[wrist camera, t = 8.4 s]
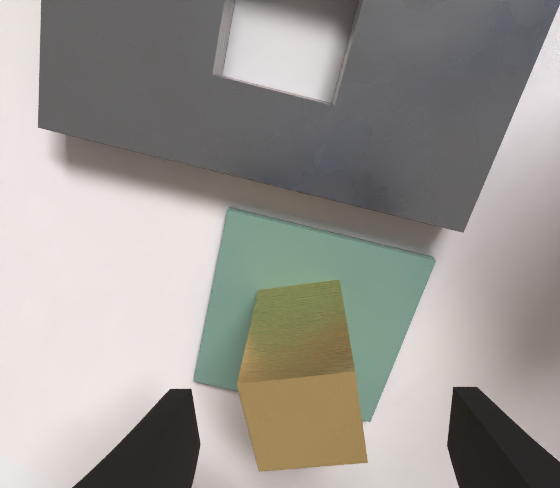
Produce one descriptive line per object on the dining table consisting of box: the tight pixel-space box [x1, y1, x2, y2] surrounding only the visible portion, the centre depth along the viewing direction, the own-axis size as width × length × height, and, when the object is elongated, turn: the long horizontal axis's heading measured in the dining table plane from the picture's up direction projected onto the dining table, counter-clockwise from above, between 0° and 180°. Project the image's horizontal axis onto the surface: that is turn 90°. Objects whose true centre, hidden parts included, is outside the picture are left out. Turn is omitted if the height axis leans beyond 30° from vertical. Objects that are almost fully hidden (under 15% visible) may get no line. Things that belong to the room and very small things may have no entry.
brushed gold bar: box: [237, 279, 368, 471], centre depth 18 cm, size 4×4×7 cm
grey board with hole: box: [38, 0, 560, 232], centre depth 16 cm, size 18×12×2 cm, turn 77°
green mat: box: [194, 207, 436, 422], centre depth 22 cm, size 10×10×1 cm
